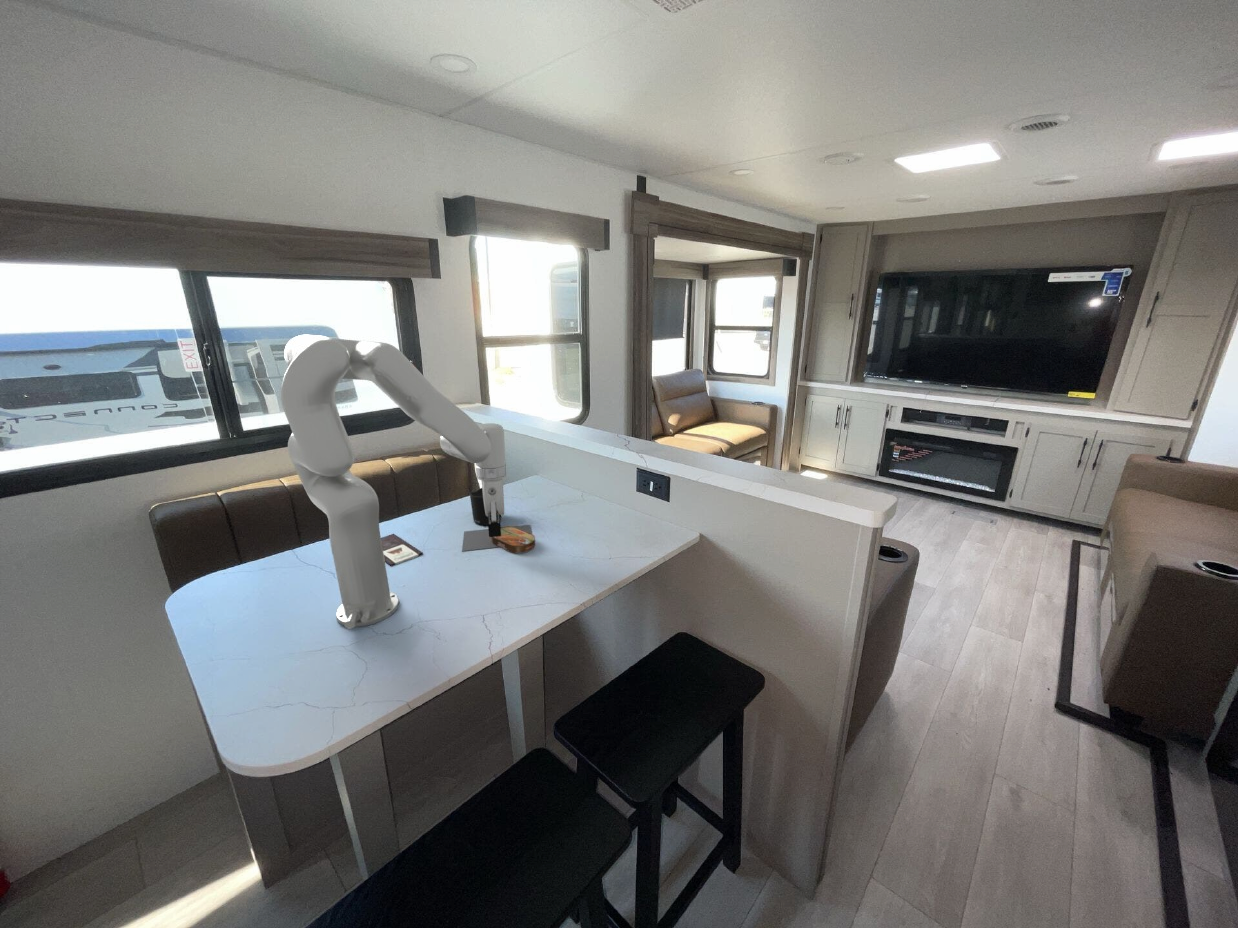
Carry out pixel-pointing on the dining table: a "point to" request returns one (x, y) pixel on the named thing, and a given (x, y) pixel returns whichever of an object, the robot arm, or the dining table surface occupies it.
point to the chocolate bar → (397, 550)
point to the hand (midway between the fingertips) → (495, 535)
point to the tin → (514, 540)
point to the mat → (483, 539)
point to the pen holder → (479, 508)
